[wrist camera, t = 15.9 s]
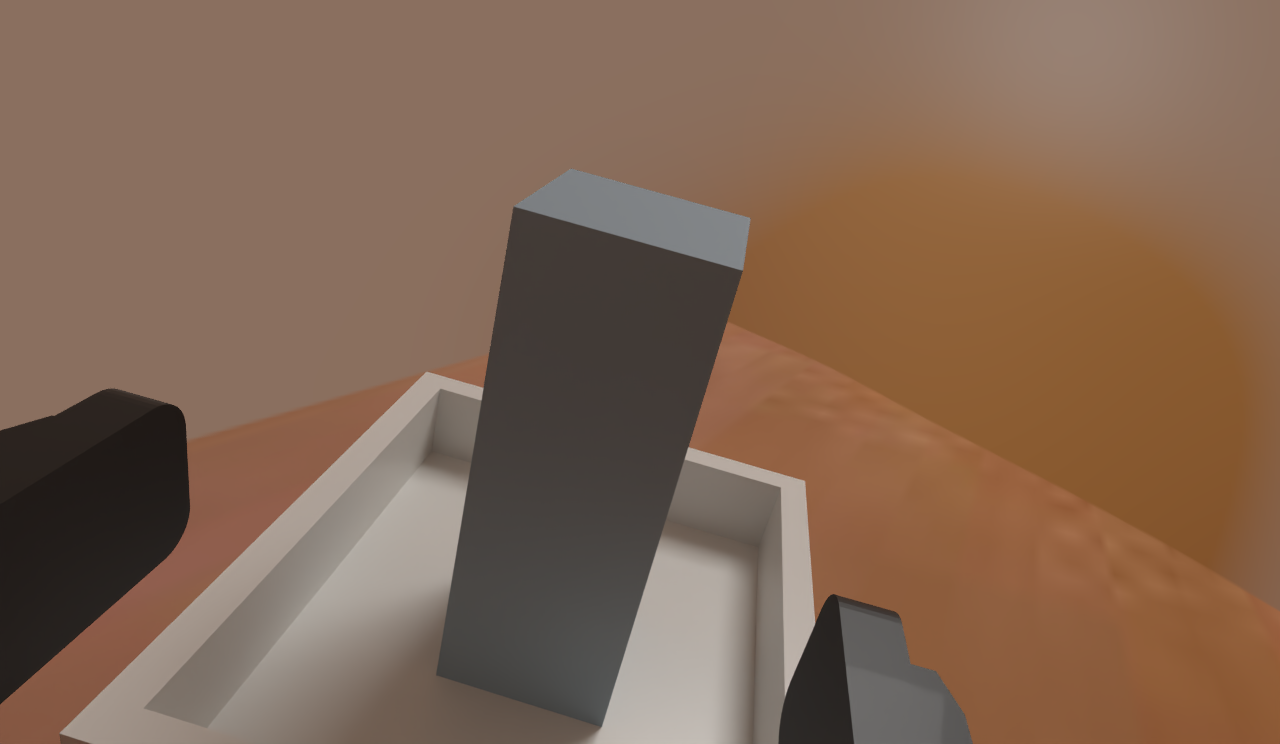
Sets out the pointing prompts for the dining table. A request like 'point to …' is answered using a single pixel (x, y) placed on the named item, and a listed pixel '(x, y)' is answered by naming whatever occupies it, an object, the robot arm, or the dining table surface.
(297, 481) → the dining table surface
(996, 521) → the dining table surface
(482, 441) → the slate block
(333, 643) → the tray
